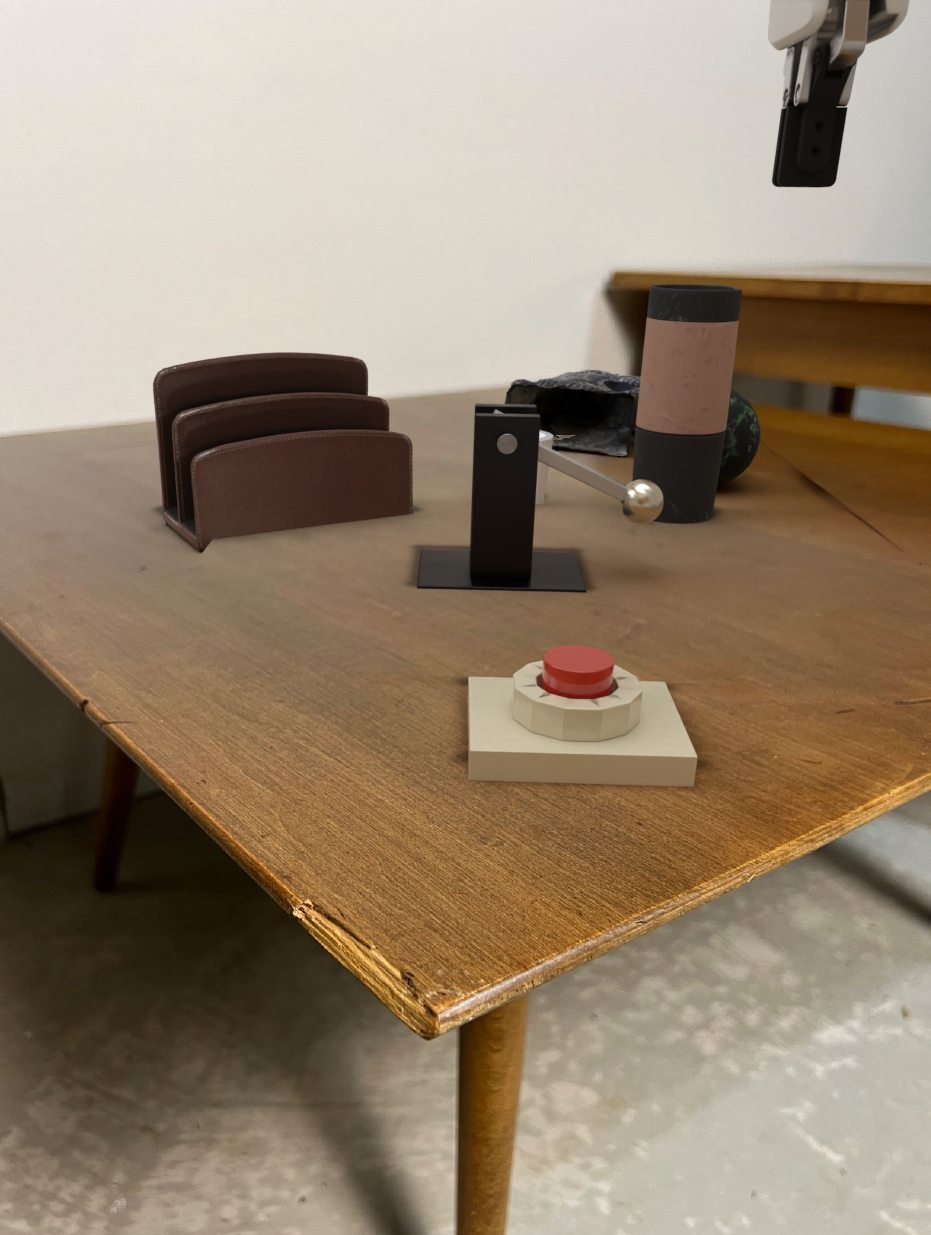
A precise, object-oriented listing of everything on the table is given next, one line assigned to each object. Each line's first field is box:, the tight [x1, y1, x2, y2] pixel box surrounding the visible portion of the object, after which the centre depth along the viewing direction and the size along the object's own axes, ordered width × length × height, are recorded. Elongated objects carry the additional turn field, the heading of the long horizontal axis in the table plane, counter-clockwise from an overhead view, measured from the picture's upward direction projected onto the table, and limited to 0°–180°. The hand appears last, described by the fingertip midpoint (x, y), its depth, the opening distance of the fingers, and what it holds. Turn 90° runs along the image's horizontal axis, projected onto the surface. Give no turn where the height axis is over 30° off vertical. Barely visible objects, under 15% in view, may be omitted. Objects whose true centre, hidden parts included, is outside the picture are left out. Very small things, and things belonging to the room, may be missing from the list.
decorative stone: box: [717, 388, 762, 487], centre depth 108 cm, size 10×10×10 cm
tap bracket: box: [416, 403, 587, 594], centre depth 78 cm, size 12×9×13 cm
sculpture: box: [504, 369, 641, 457], centre depth 135 cm, size 8×16×30 cm
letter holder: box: [152, 351, 415, 552], centre depth 91 cm, size 10×20×14 cm, turn 118°
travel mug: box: [631, 283, 744, 525], centre depth 92 cm, size 8×8×20 cm
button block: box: [466, 659, 699, 788], centre depth 56 cm, size 11×9×4 cm
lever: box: [493, 410, 664, 525], centre depth 76 cm, size 14×3×3 cm, turn 88°
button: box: [541, 644, 615, 699], centre depth 55 cm, size 4×4×2 cm
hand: (802, 185), depth 61 cm, fingers closed
